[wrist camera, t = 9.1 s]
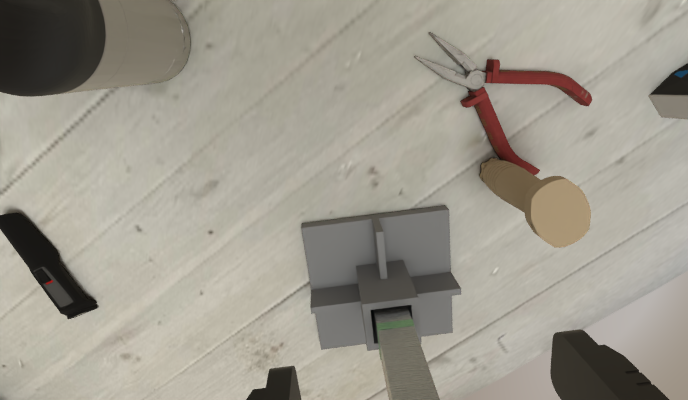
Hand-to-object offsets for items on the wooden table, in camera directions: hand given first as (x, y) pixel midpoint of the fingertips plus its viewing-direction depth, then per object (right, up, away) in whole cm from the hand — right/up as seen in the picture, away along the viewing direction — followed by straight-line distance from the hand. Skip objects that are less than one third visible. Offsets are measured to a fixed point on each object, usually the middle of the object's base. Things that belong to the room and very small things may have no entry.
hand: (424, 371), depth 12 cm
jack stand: (+2, -5, +40) cm, 40 cm away
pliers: (+16, +18, +34) cm, 42 cm away
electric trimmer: (-39, -3, +38) cm, 54 cm away
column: (+3, -8, +33) cm, 33 cm away
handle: (+15, +9, +36) cm, 40 cm away
